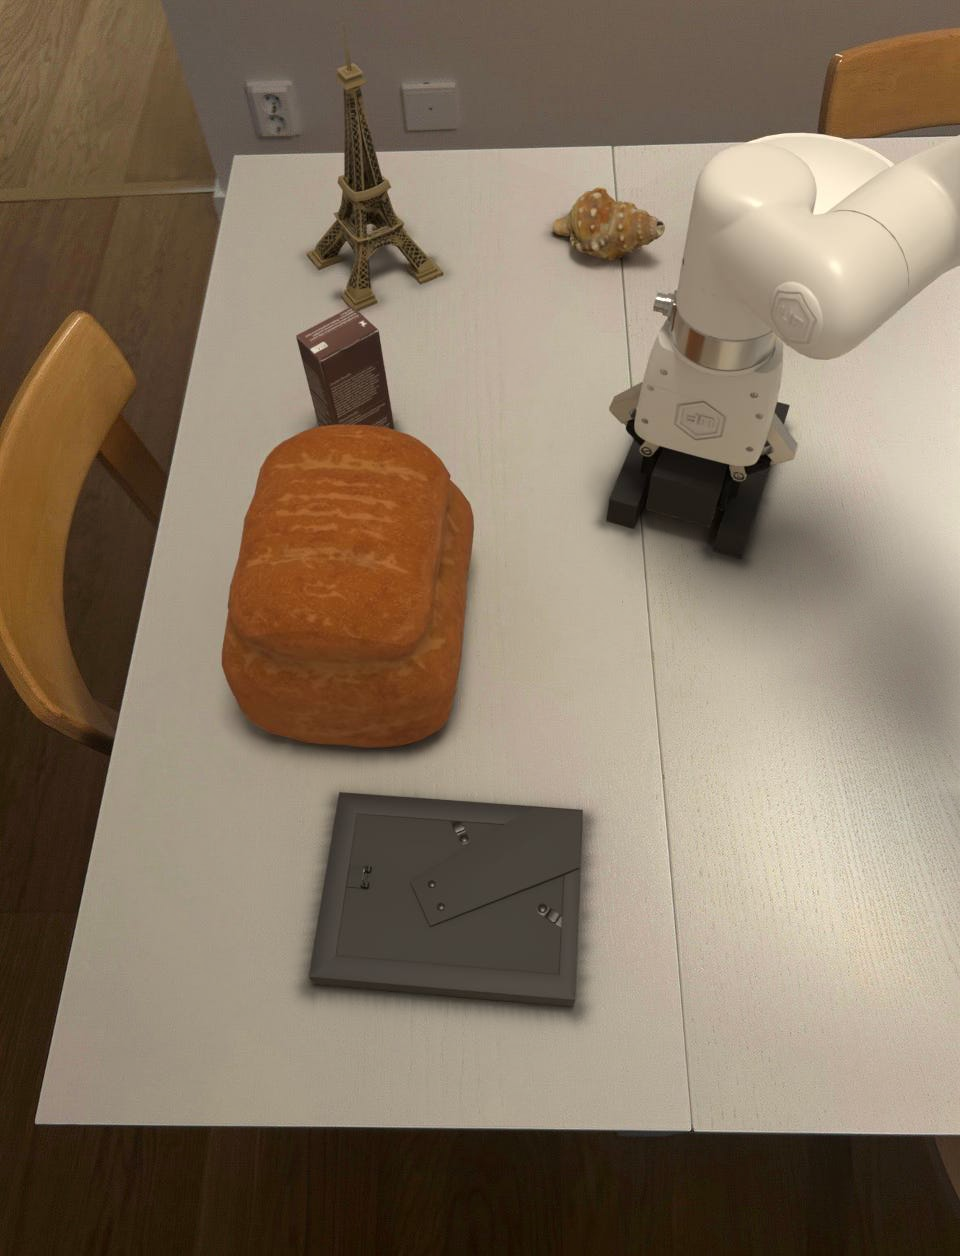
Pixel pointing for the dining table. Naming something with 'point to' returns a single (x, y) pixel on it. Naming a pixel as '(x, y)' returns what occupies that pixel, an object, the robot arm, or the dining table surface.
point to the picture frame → (451, 899)
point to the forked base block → (737, 512)
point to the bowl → (831, 164)
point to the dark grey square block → (686, 486)
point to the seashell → (607, 226)
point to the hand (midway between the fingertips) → (688, 486)
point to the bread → (350, 590)
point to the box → (346, 371)
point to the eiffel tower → (364, 204)
